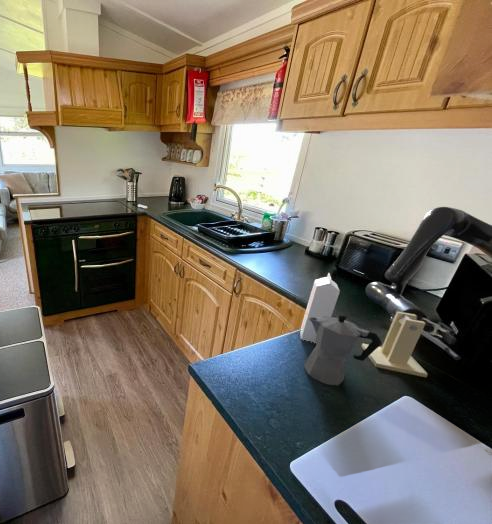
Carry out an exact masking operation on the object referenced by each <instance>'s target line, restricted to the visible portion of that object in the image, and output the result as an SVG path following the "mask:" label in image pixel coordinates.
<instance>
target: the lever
mask: <svg viewBox="0 0 492 524" xmlns="http://www.w3.org/2000/svg"><path fill="white" fill-rule="evenodd" d="M404 318H406V319H411V318H409V317H408V316H406V315H405V316H404V317H403V318H401V319H400V320H399V322H400V323H401V324H402V323H403V320H404ZM411 320H412V319H411ZM421 335H422V336H424V337H425V338H426V339H427V340H430V342H432V343H434V344H435V345H437V346H438V347H439V348H441V349H442V350H444V351H445V352H446V353H447V354H448V355H449V356H450V357H452V358H453V359H454V360H455V361H459V360H461V356H459V355H458V354H457V353H456V352H455V351H454V350H452V348H450V347H449V346H448V345H447V344H445V343H444V342H443V341H442V340H441V339H440V338H438V337H435V336H433V335H431V334H429V333H427V332H425V331H423V330H422V332H421Z"/></svg>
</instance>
